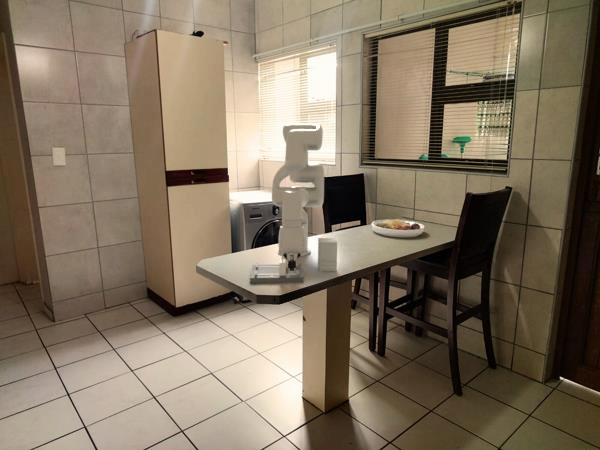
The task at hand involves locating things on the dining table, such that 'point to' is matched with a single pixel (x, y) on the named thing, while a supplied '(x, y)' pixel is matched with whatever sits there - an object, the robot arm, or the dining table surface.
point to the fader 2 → (282, 267)
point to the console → (275, 274)
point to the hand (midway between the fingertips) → (291, 269)
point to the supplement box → (327, 254)
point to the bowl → (397, 228)
